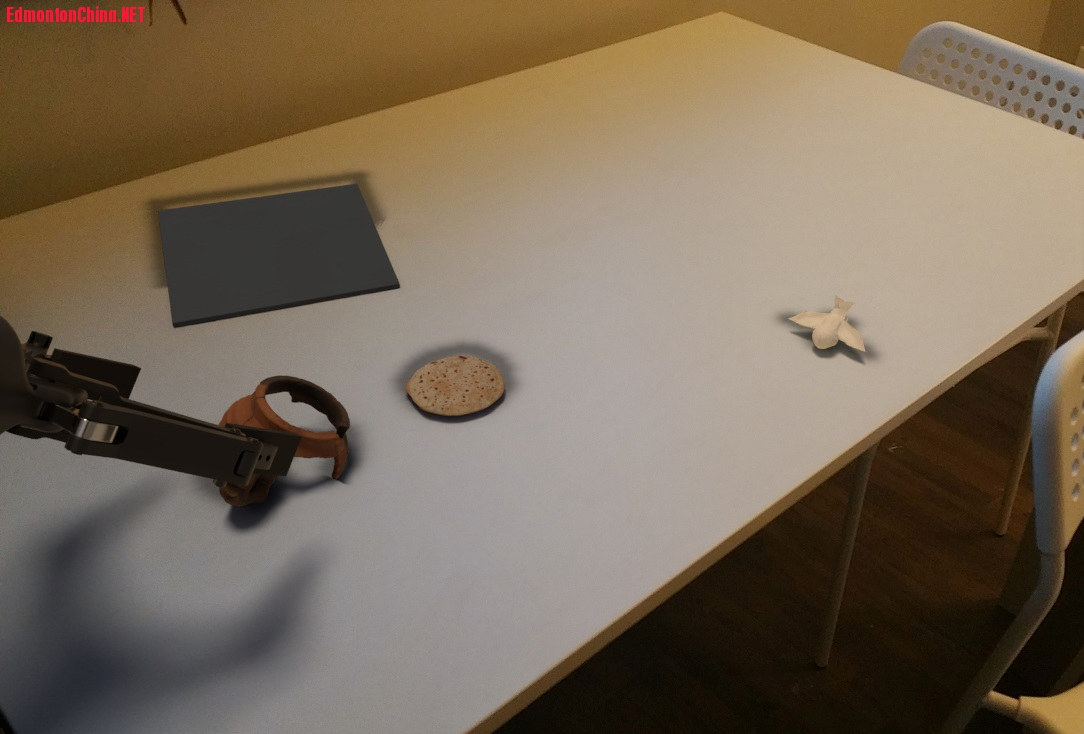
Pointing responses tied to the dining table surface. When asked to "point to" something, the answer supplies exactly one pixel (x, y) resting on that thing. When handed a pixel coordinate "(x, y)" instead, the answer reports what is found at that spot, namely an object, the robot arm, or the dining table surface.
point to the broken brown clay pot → (312, 444)
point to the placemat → (271, 253)
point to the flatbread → (456, 386)
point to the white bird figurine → (831, 326)
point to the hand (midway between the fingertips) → (207, 418)
